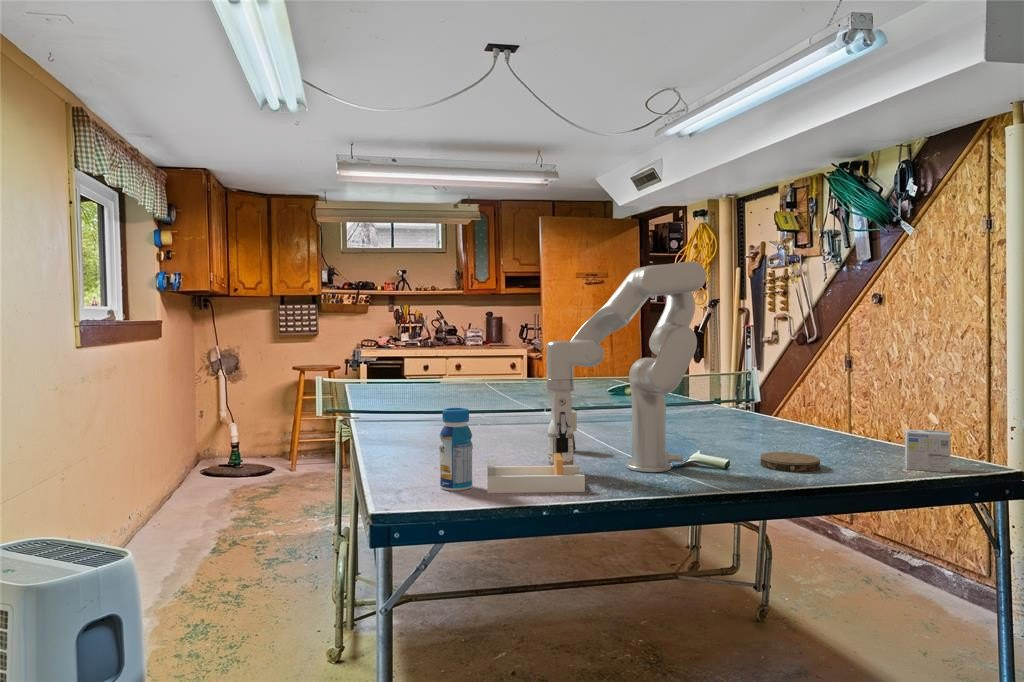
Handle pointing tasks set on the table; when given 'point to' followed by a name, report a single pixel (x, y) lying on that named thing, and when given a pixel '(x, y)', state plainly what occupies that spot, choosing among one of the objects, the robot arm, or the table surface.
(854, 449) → the table surface
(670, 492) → the table surface
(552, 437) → the bath foam
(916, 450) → the light bulb box
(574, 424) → the character mug
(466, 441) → the beverage bottle
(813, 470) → the brown round disc
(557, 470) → the orange rectangular block
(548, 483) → the pusher lane
